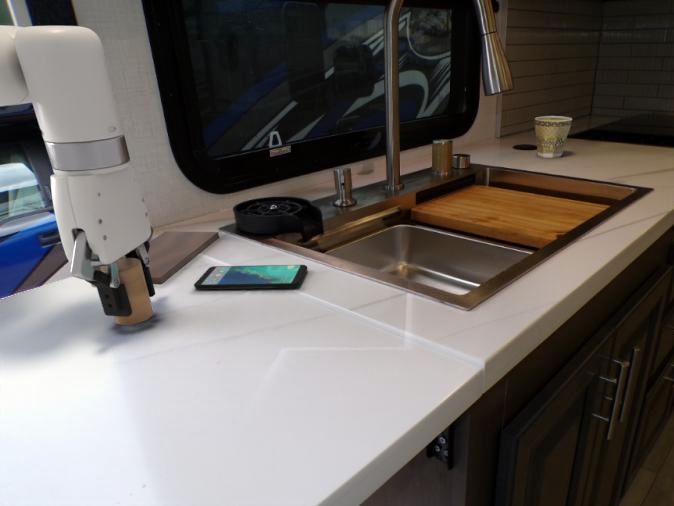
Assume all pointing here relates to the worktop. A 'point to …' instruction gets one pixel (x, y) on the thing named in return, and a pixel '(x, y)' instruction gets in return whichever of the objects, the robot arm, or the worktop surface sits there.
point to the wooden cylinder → (133, 291)
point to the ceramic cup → (551, 135)
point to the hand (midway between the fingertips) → (131, 303)
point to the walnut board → (175, 252)
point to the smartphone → (252, 277)
